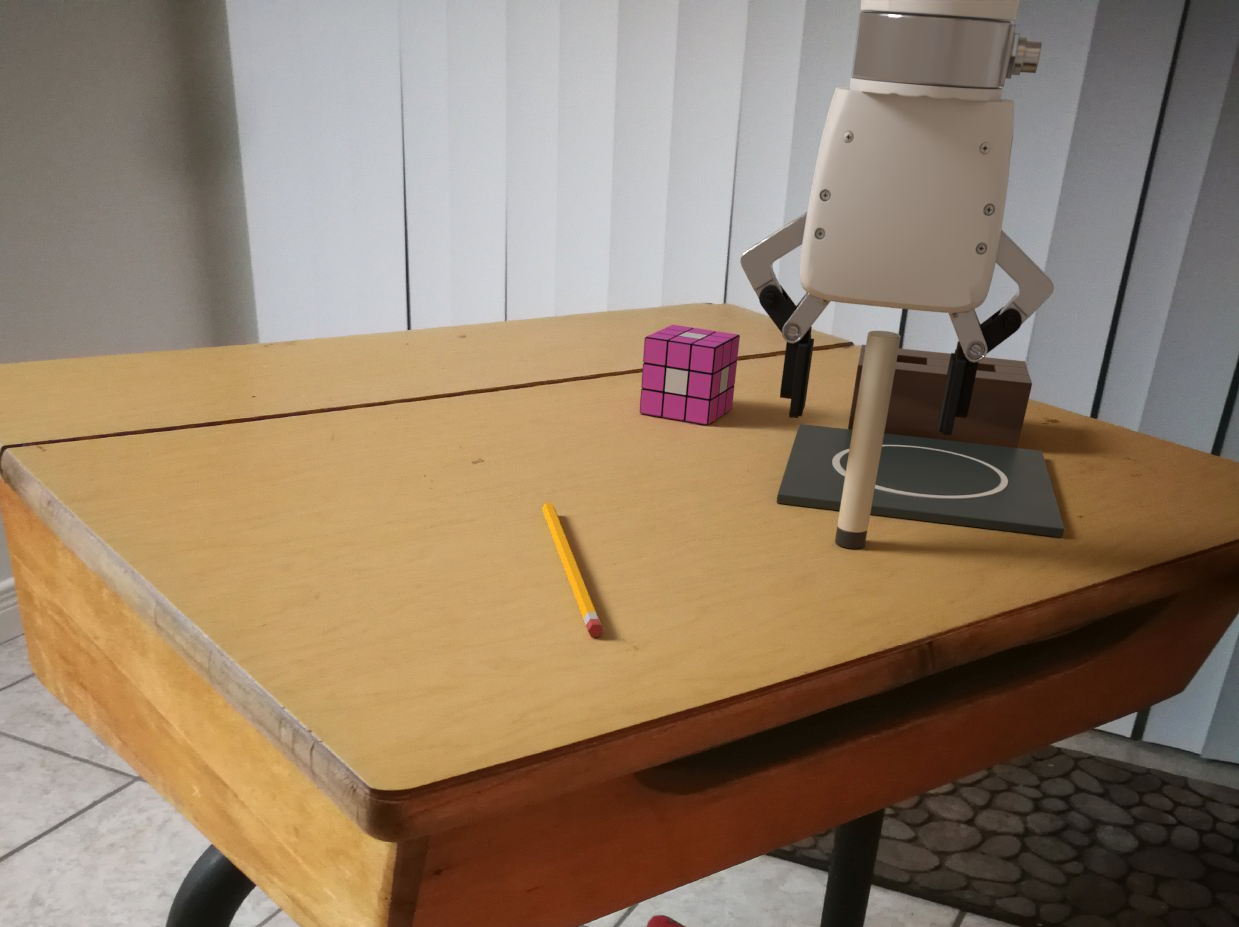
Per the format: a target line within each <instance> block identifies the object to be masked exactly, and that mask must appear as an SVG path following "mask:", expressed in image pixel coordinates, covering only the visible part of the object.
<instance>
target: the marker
mask: <svg viewBox="0 0 1239 927" xmlns="http://www.w3.org/2000/svg"><path fill="white" fill-rule="evenodd" d="M900 343H901V335H900V334H899V333H896V332H893V331H888V330H887V331H886V330H871V331H868V332H867V335H866V342H865V345H866V348H865V355H864V361H863V367H862V373H861V380H860V386H859V392H858V399H857V405H856V411H855V418H854V424H853V430H852V437H851V443H850V449H849V455H848V462H847V468H846V474H845V481H844V487H843V493H842V500H841V506H840V511H839V512H838V520H837V527H836V532H835V538H834V542H835V544H836V545H837V546H839V547H841V548H844V549H851V550H855V549H856V550H857V549H858V550H859V549H862V548H864V547H865V546H866V541H867V535H868V529H869V524H870V518H871V514H870V513H871V507H872V501H873V495H874V489H875V484H876V478H877V472H878V466H879V460H880V455H881V449H882V443H883V437H884V431H885V425H886V420H887V414H888V408H889V402H890V396H891V391H892V385H893V379H894V373H895V367H896V361H897V356H898V350H899V348H900Z"/></svg>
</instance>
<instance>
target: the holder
mask: <svg viewBox="0 0 1239 927" xmlns="http://www.w3.org/2000/svg"><path fill="white" fill-rule="evenodd" d="M865 348H866V344H861V347H860V352H859V358H858V363H857V369H856V375H855V380H854V388H853V394H852V400H851V407H850V413H849V418H848V419H849V420H848V426H847V429H851V430H853V424H854V418H855V411H856V405H857V399H858V392H859V386H860V380H861V373H862V367H863V361H864V355H865ZM950 356H951V353H950V352H949V353H947V352H939V351H928V350H919V349H909V348H900V347H899V350H898V356H897V361H896V367H895V373H894V379H893V385H892V391H891V396H890V402H889V408H888V414H887V420H886V425H885V431H884V433H887V434H896V435H905V436H913V437H922V438H931V439H940V440H949V441H958V442H967V443H976V444H985V445H994V446H1003V447H1012V448H1019V444H1020V439H1021V435H1022V430H1023V426H1024V422H1025V417H1026V413H1027V409H1028V405H1029V399H1030V395H1031V392H1032V387H1033V382H1032V378H1031V376H1030V372H1029V370H1028V366H1027V362H1026V361H1025V360H1018V359H1017V360H1016V359H1007V358H996V357H995V358H994V357H986V356H985V357H984V359H982V360H981V361H979V362H978V367H977V372H976V377H975V382H974V386H973V391H972V396H971V401H970V406H969V411H968V415H967V418H960V417H955V420H954V425H953V430H952V435H951V436H949V435H942V432H939V428H938V418H939V413H940V408H941V403H942V397H943V392H944V387H945V382H946V377H947V372H948V367H949V361H950Z"/></svg>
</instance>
